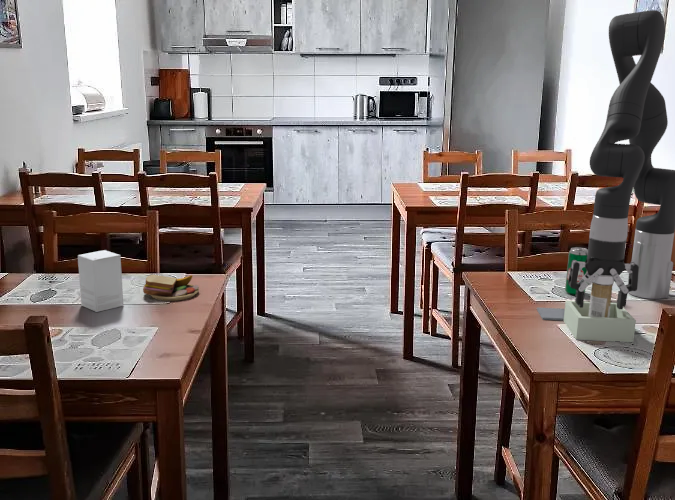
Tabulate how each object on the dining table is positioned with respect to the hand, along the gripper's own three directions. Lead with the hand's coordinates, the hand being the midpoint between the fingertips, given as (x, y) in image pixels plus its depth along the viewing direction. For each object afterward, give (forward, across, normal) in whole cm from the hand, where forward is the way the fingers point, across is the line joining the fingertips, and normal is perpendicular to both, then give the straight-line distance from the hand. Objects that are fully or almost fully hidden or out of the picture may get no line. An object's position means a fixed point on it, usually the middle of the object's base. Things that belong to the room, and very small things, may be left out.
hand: (599, 307), depth 155 cm
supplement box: (+6, +115, -1) cm, 115 cm away
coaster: (+6, +7, -10) cm, 13 cm away
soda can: (+6, -2, -29) cm, 30 cm away
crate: (+6, 0, 0) cm, 6 cm away
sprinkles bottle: (+6, 0, 0) cm, 6 cm away
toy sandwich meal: (+6, +102, -12) cm, 103 cm away
